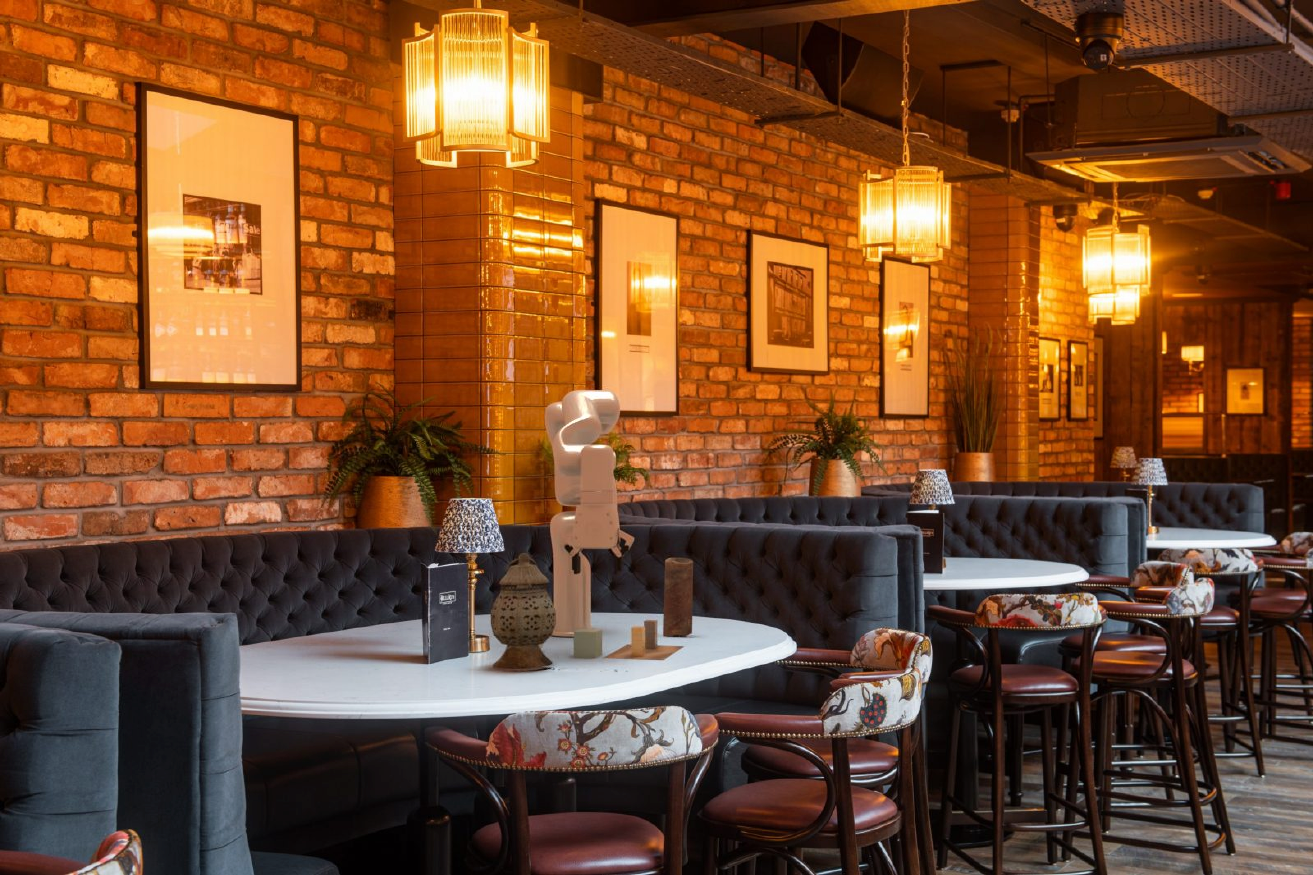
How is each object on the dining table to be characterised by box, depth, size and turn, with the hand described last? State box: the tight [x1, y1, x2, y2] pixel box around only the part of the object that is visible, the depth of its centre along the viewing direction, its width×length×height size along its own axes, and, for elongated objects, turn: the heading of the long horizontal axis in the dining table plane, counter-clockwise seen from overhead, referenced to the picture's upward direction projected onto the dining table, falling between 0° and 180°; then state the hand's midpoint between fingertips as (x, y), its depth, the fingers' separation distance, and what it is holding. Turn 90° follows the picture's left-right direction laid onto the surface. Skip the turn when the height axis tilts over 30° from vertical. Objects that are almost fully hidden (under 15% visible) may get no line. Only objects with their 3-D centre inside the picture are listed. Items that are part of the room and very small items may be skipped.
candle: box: [662, 557, 694, 638], centre depth 348 cm, size 8×7×20 cm
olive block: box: [573, 628, 603, 659], centre depth 312 cm, size 5×5×7 cm
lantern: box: [490, 552, 556, 673], centre depth 302 cm, size 14×14×25 cm
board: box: [602, 643, 685, 661], centre depth 318 cm, size 14×22×1 cm, turn 166°
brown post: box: [643, 619, 658, 649], centre depth 324 cm, size 3×3×6 cm
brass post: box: [630, 625, 645, 657], centre depth 312 cm, size 3×3×6 cm
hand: (597, 574), depth 314 cm, fingers open, 9 cm apart
